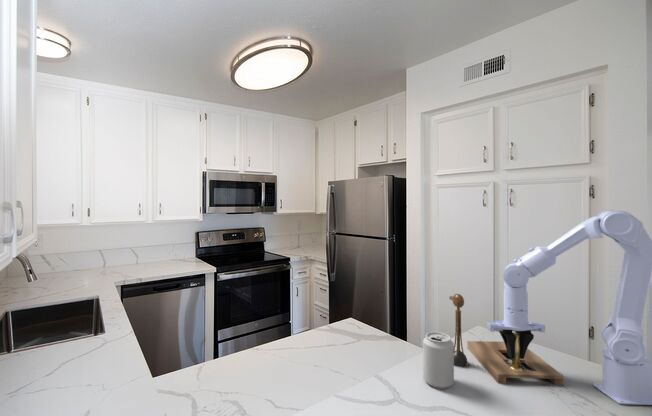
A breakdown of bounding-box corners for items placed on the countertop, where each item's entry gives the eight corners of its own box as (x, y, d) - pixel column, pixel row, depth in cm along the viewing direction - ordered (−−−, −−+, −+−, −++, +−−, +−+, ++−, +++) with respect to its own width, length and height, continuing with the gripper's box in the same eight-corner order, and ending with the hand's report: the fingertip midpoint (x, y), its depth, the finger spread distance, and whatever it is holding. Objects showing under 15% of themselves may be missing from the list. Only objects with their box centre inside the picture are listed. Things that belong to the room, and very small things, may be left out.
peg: (518, 366, 90) (518, 330, 90) (527, 373, 86) (527, 336, 86) (504, 366, 89) (504, 331, 89) (513, 373, 85) (513, 336, 85)
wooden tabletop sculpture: (444, 358, 95) (444, 291, 95) (458, 356, 96) (457, 290, 96) (456, 368, 89) (456, 296, 89) (471, 366, 90) (470, 295, 90)
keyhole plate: (519, 349, 100) (519, 341, 100) (563, 384, 80) (563, 375, 80) (467, 348, 101) (467, 341, 101) (498, 383, 81) (498, 374, 81)
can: (417, 381, 82) (417, 335, 82) (432, 371, 87) (432, 327, 87) (445, 394, 77) (444, 344, 77) (459, 382, 82) (459, 336, 82)
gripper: (533, 303, 91) (534, 350, 91) (482, 303, 92) (482, 350, 92) (550, 311, 84) (550, 362, 84) (493, 311, 85) (494, 362, 85)
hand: (515, 357), depth 88 cm, fingers closed on peg, 2 cm apart
